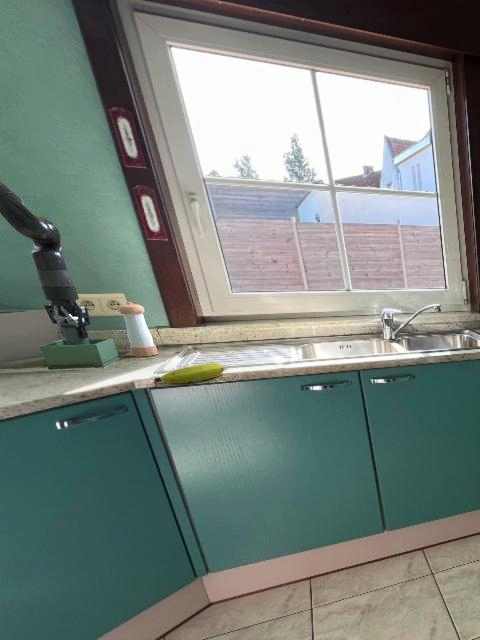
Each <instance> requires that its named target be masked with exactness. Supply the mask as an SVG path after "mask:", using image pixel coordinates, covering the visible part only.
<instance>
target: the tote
mask: <svg viewBox="0 0 480 640" xmlns="http://www.w3.org/2000/svg"><path fill="white" fill-rule="evenodd" d="M88 340H89V343H90V345H68V344H67V341H66V339H59V340H55V341H53V342H49V343H46V344H43V345H40V346H39V349H40V351H41V354H42V356H43V359H44V362H45V365H46V366H47V370H49V371H51V370H52V371H53V370H69V369H70V370H71V369H72V370H73V369H74V370H76V369H94V368H95V369H96V368H106V367H107V366H110V365H111V364H113V363H116V362H118V361H120V360H121V359H120V356H119V353H118V351H117V350H118V349H117V347H116V344H115V341H114V338H112V337H111V338H88Z"/></svg>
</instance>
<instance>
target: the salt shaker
mask: <svg viewBox="0 0 480 640" xmlns="http://www.w3.org/2000/svg"><path fill="white" fill-rule="evenodd" d="M145 310H146V309H145V308H144V307H143V306H142V305H140V304H136V303H133V302H132V301H127V302H126V304H121V305H119V306H118V312H119V313H120V314H122V316H123V319H124V320H123V321H124V322H125V326H126V333H127V340H128V342H129V344H130V346H129V349H130V352H131V356H132V357H133V356H135V357H134V358H143V357H142V356H148V357H153V356H152V355H155V356H157V355H156V354H158V355H159V352H158V349H157V345H156V344H155V343H154V340H153V336H152V334H151V332H150V329H149V327H148V326H147V322H146V319H145V316H144V313H145Z"/></svg>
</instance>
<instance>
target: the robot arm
mask: <svg viewBox="0 0 480 640" xmlns="http://www.w3.org/2000/svg"><path fill="white" fill-rule="evenodd" d="M0 216H1V217H2V218H3V219H4V220H5V221H6V222H7V223H8V225H9V226H10V227H11V228H13V229H14V231H16V232H17V233H18V234H20V235H21V236H22V237H24V238H26V239H28V240H32V245H33V249H32V250H31V252H30V257H31V259H32V262H33V265H34V269H35V270H36V276H37V279H38V282H39V284H40V287H41V290H42V293H43V296H44V298H45V300H47V301H50V302H51V304H44V305H43V308H44V309H45V311H46V313H47V315H48V318H49V319H50V321H51V323H52V324H54V325H57V326H58V327H59V328H60V331H61V333H62V336H63V337H64V338H65V336H64V333H63V330H62V328H61V327H60V324H64V323H70V321H71V323H74V325H75V326H76V330H77V333H78V336H79V338H80V339H85V338H88V339H89V333H88V330H87V328H86V327H87V326H89V325H91V319H90V314H89V309H88V307H87V306H83V305H82V306H80V305H79V304H78V303H77V300H79V299H80V297H79V295H78V291H77V288H76V285H75V283H74V280H73V277H72V274H71V273H70V271H69V269H68V266H67V263H66V260H65V257H64V255H63V242H62V236H61V233H60V231H59V229H58V227H57V225H56V224H55V223H54V222H53V221H52V220H50V219H48V218H47V217H44V216H38V215H35V214H34V213H33V212H31V211H30V209H28V207H26V206H25V201H24V200H23V199H22V198H21V197H20V196H19V195H18V194H17V193H15V191H13V189H11V188H10V187H9V186H8V185H7V184H5V183H4V182H3V181H2V180H0Z"/></svg>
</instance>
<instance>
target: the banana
mask: <svg viewBox="0 0 480 640" xmlns="http://www.w3.org/2000/svg"><path fill="white" fill-rule="evenodd" d="M225 367H226V366H224V365H222V364H219V363H217V362H210V363H204V364H198V365H193V366H187V367H183V368H179V369H176V370H173V371H170V372H167V373H165V374H163V375H161V376H160V377H154V379H153V380H154V381H155V382H157V383H159V382H163V383H166V384H189V383H196V382H201V381H206V380H209V379H214V378H217V377H220V376H221V375H222V374H223V373H224V371H226V370H225V369H226V368H225Z"/></svg>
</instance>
